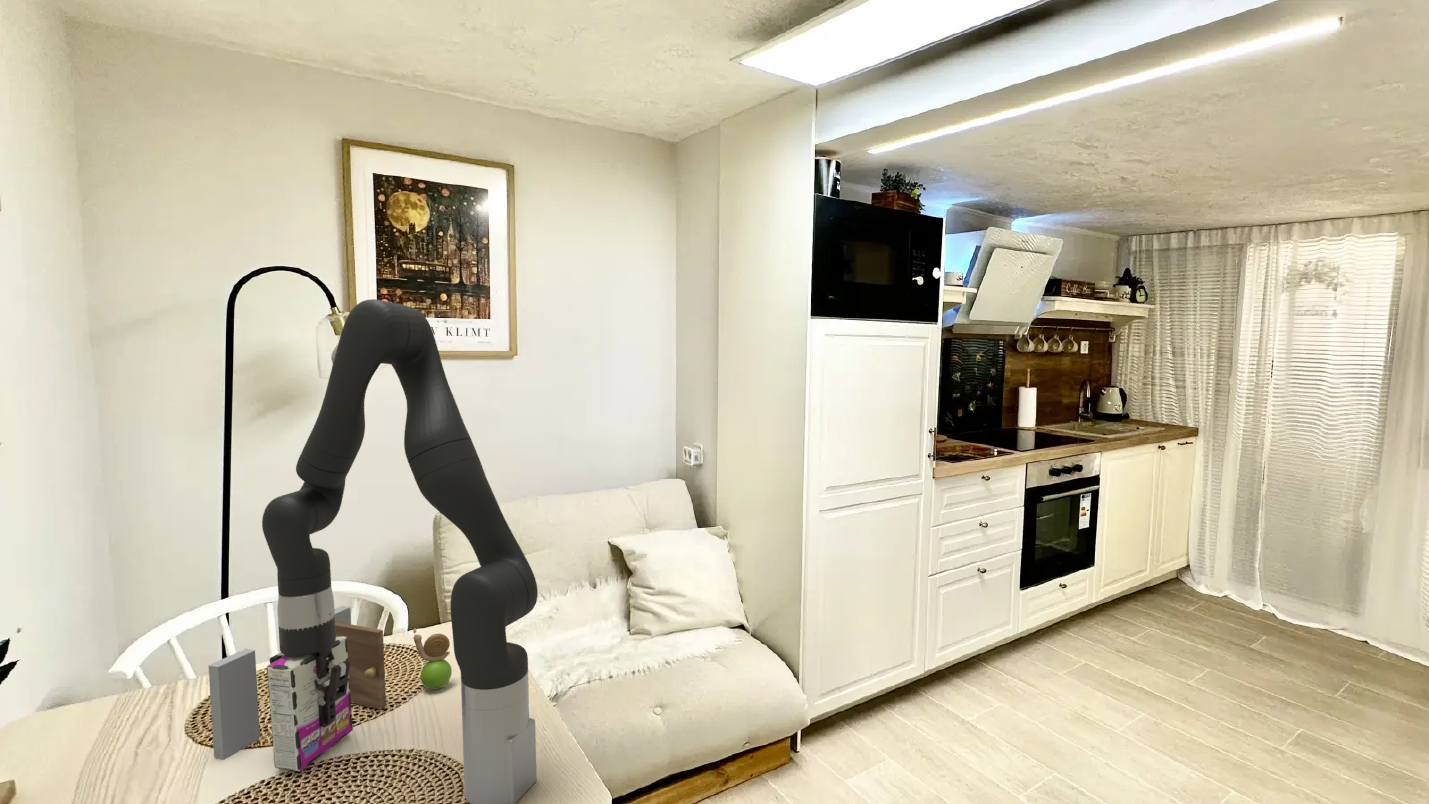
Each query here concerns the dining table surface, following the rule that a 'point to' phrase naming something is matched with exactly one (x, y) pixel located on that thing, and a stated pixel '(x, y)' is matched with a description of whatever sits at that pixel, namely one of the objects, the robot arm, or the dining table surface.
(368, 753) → the dining table surface
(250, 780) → the dining table surface
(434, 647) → the snail figurine
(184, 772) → the dining table surface
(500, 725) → the robot arm
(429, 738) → the dining table surface
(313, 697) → the candy bar box
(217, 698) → the door frame
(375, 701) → the door
